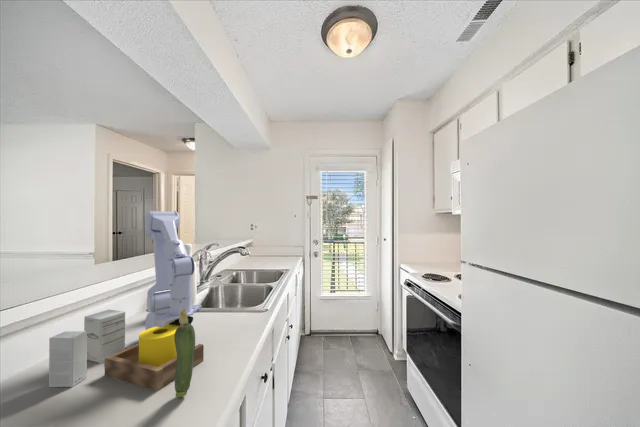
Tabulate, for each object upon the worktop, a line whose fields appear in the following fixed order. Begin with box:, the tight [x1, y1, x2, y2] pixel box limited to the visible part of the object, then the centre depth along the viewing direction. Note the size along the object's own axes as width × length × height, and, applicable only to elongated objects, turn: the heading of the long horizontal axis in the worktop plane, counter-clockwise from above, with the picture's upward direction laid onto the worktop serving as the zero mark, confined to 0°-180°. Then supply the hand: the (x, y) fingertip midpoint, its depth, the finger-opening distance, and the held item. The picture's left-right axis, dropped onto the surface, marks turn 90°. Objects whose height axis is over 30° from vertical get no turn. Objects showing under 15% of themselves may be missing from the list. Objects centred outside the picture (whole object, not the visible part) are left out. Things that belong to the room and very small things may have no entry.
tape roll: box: [138, 324, 179, 367], centre depth 75 cm, size 10×10×9 cm
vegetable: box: [174, 309, 196, 399], centre depth 62 cm, size 4×4×20 cm
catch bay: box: [104, 342, 205, 391], centre depth 74 cm, size 19×14×4 cm
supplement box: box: [83, 309, 126, 364], centre depth 81 cm, size 7×7×13 cm
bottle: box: [184, 243, 198, 306], centre depth 122 cm, size 8×8×30 cm
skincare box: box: [48, 330, 88, 388], centre depth 68 cm, size 6×4×12 cm
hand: (180, 342), depth 81 cm, fingers closed
